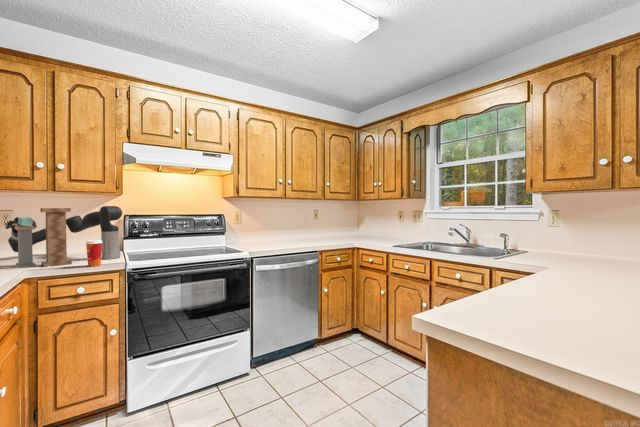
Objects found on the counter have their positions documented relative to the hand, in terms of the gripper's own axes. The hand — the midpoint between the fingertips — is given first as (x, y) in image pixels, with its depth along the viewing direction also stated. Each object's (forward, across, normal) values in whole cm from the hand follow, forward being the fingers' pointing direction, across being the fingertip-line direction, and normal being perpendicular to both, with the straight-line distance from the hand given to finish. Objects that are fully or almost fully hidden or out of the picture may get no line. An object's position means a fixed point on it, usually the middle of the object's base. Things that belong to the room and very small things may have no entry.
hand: (22, 218), depth 180 cm
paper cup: (+20, +25, +42) cm, 53 cm away
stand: (+2, +12, +32) cm, 34 cm away
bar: (+4, 0, +6) cm, 7 cm away
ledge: (-6, 0, +26) cm, 27 cm away
